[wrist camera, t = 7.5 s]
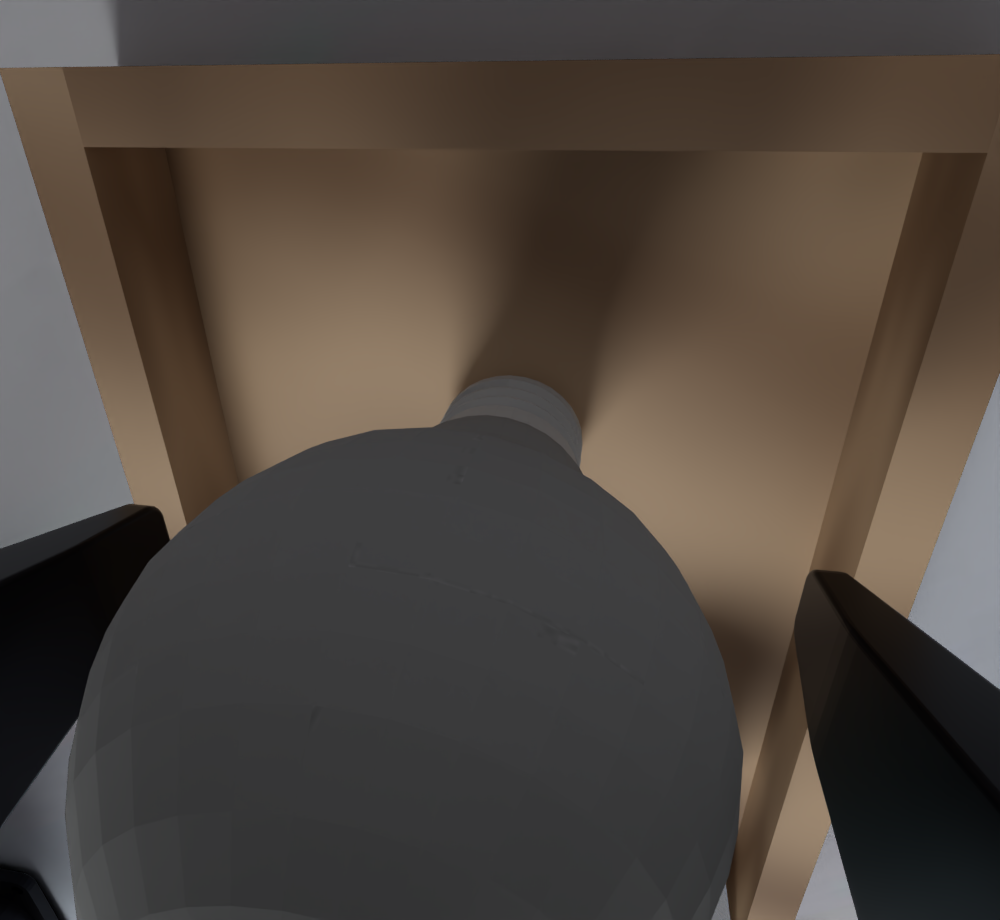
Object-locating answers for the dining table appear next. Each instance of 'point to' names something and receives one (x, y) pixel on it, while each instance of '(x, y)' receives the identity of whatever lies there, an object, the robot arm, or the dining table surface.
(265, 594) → the light bulb
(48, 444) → the dining table surface
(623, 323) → the tray
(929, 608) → the dining table surface
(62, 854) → the dining table surface
